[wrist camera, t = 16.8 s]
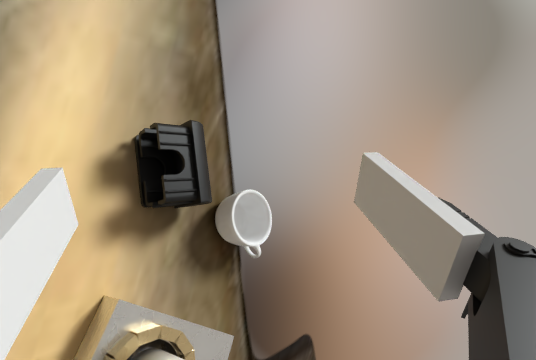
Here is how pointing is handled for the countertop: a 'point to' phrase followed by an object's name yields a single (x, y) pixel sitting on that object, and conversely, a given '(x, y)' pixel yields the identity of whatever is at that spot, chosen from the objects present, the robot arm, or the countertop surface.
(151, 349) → the telephoto lens
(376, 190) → the robot arm
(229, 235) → the teacup
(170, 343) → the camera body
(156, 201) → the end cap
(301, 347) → the countertop surface
